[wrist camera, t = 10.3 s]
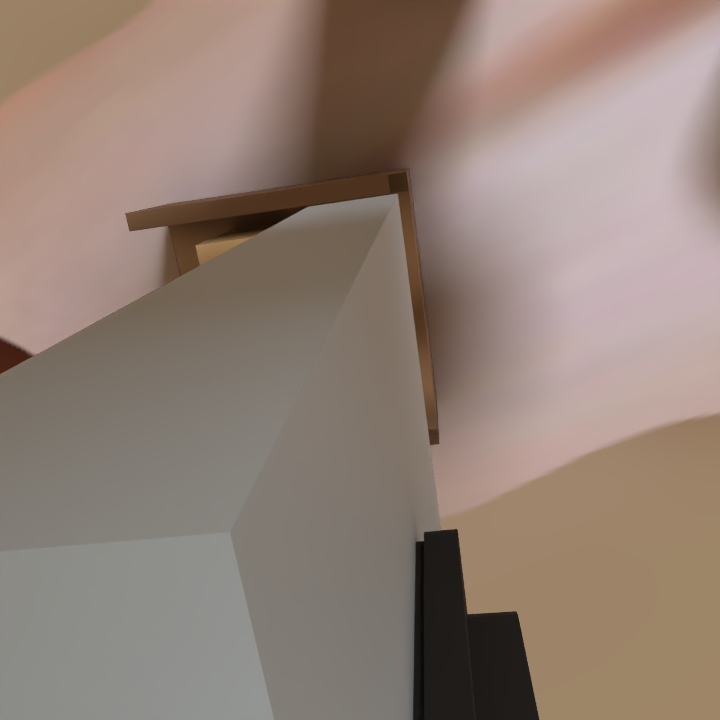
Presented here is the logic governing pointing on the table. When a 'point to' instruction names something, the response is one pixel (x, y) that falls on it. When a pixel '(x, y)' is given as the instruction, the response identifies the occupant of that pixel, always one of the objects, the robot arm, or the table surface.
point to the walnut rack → (276, 205)
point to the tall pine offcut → (226, 242)
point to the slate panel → (224, 490)
